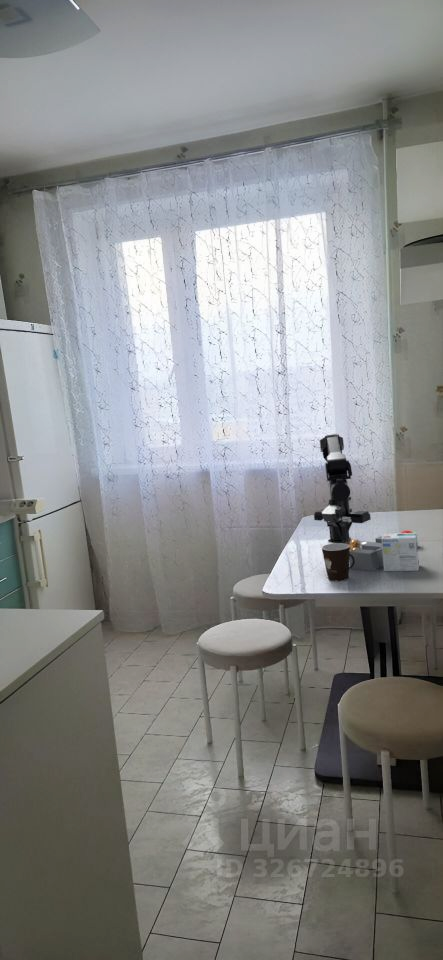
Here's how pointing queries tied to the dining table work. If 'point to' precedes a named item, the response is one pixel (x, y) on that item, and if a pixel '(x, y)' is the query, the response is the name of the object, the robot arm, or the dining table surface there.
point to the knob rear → (356, 544)
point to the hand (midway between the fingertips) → (343, 540)
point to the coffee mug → (337, 561)
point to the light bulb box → (400, 552)
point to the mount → (368, 556)
